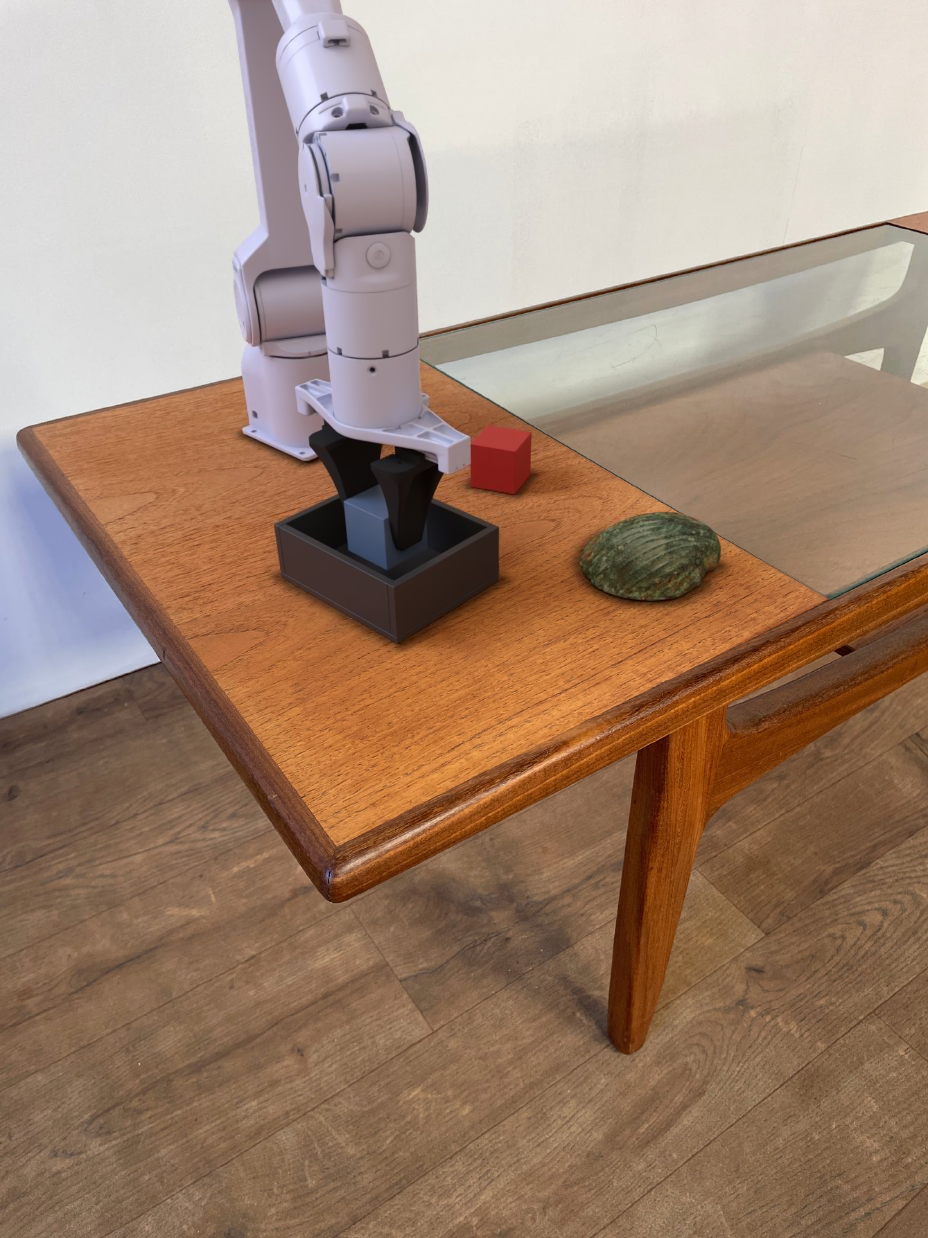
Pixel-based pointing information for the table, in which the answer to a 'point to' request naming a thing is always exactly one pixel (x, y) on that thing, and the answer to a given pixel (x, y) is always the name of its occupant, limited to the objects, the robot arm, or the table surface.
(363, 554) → the blue block
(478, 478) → the red block
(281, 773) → the table surface
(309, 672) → the table surface
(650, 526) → the seashell
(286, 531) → the bin
